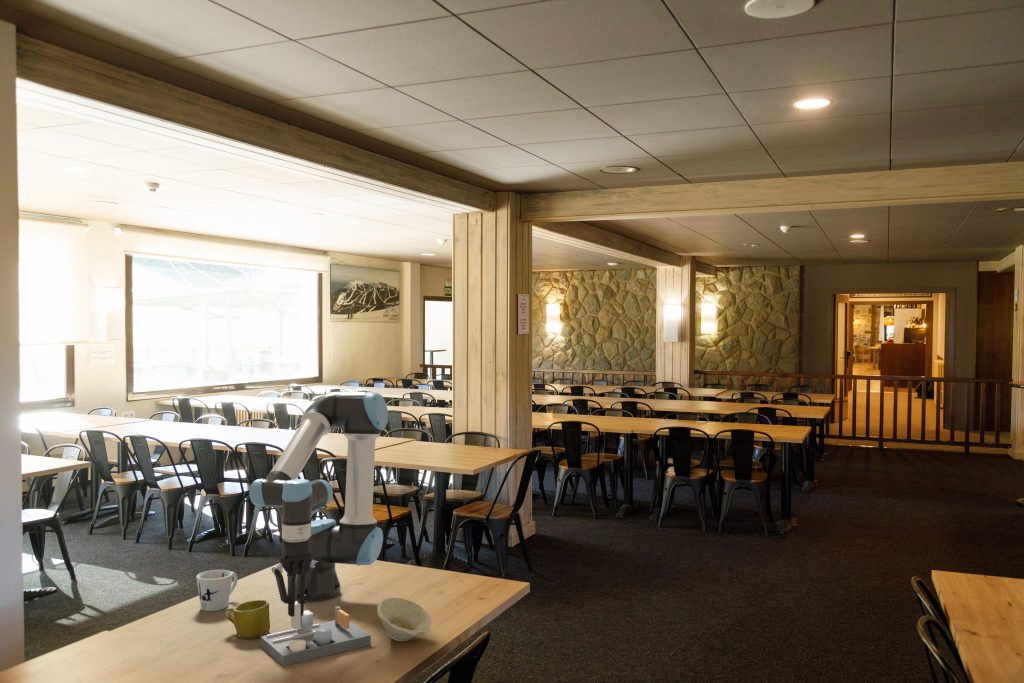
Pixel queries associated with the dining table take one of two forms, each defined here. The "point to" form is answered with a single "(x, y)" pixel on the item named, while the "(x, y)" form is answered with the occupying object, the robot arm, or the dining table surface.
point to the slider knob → (306, 622)
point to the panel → (314, 642)
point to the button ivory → (297, 645)
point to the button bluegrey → (323, 636)
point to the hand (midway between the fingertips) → (295, 627)
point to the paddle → (341, 618)
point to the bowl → (403, 618)
